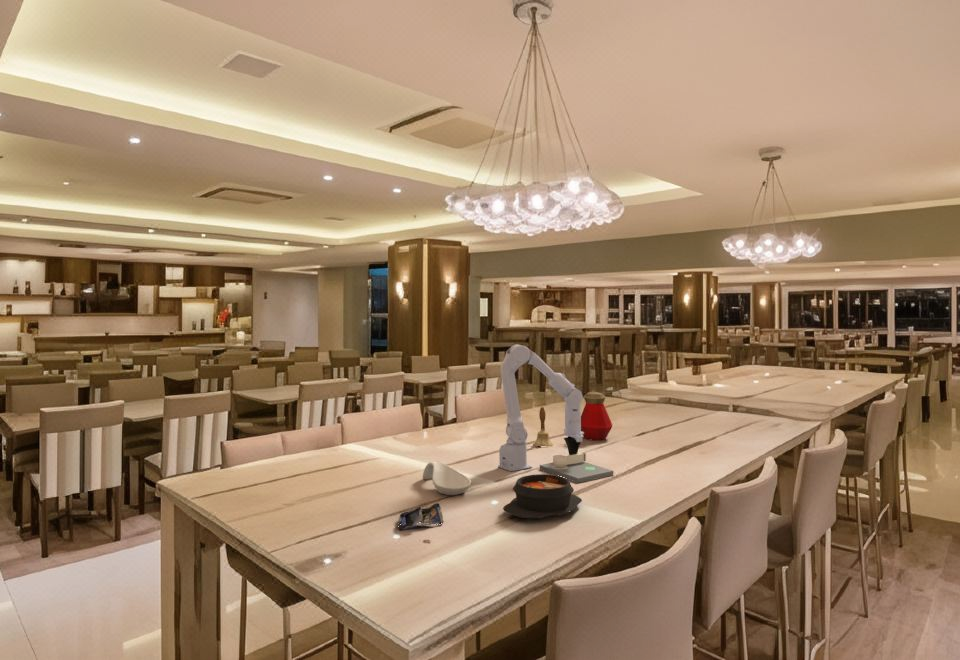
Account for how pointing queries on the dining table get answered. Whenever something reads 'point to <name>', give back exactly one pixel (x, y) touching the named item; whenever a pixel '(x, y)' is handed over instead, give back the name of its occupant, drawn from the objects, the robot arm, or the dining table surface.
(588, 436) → the bottle
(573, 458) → the brown-capped cream post
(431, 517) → the snack package
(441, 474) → the spoon rest
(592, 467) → the dial board
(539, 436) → the hand bell
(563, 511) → the casserole
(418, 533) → the dining table surface
